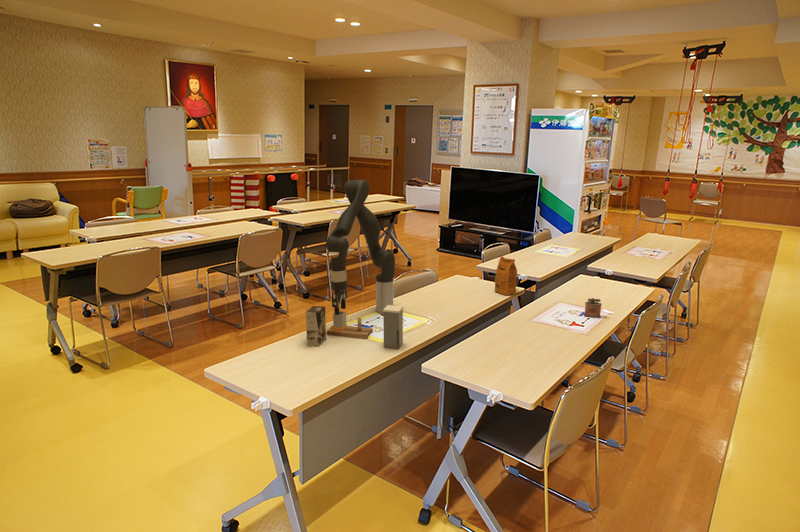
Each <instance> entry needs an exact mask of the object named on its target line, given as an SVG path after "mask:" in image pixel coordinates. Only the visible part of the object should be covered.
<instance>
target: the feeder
mask: <svg viewBox="0 0 800 532" xmlns="http://www.w3.org/2000/svg"><path fill="white" fill-rule="evenodd" d="M403 308H404V306H403V305H394V304H393V305H387V306H386V307H385V308H384V310H383V315H382V316H383V348H385V349H394V350H395V349H396V350H399V349H401V347H402V345H403V344H404V339H403V337H404V333H403V332H404V326H403V325H404V320H403V319H404V309H403Z"/></svg>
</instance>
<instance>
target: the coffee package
mask: <svg viewBox="0 0 800 532" xmlns="http://www.w3.org/2000/svg"><path fill="white" fill-rule="evenodd" d="M515 261H516V259H514V258H505V257H504V256H503V255H501V256H500V258H499V260H498V265H497V267H496V270H495V278H494V293H498V294H499V295H502V296H510V295H513V294H516V292H517V279H518V275H517V274H518V269H517V267H516V264H515Z"/></svg>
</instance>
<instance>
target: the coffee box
mask: <svg viewBox="0 0 800 532" xmlns="http://www.w3.org/2000/svg"><path fill="white" fill-rule="evenodd" d="M326 317H327V316H326V306H322V305H321V306H319V305H317V306H316V305H312V306H311V307H309V308H308V309H307V310H306V311H305V324H306V325H305V326H306V346H313V347H320V346H321V345H323V343H324V342H325V341H326V340H327V327H326V326H327V322H326V319H327V318H326Z"/></svg>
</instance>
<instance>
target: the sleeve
mask: <svg viewBox="0 0 800 532" xmlns="http://www.w3.org/2000/svg"><path fill="white" fill-rule="evenodd" d="M339 312H340V314H339V315H335V312H334V313H333V314H332V322H333V323H332V326H333V330H338V331H344V330H345V329H346V328H347V326H348V324H347V311H344V310H342V311H341V310H339Z"/></svg>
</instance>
